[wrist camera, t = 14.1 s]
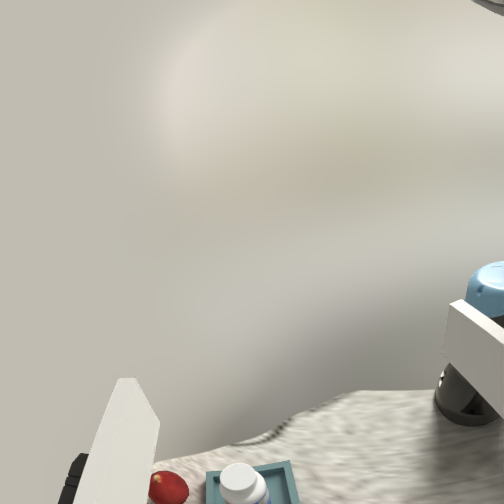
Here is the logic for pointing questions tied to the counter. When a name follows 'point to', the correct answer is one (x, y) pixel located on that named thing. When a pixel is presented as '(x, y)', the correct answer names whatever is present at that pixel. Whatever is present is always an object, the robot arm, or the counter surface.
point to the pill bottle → (243, 485)
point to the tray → (275, 478)
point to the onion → (167, 488)
